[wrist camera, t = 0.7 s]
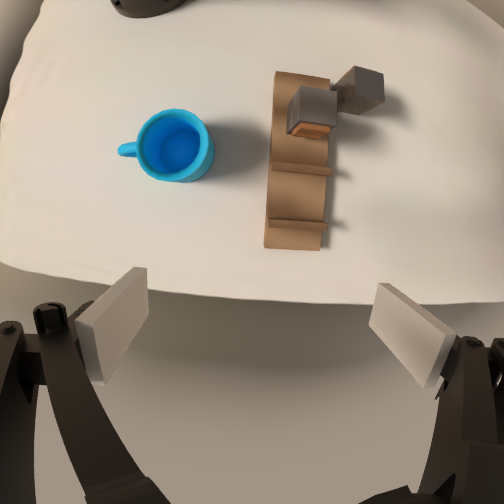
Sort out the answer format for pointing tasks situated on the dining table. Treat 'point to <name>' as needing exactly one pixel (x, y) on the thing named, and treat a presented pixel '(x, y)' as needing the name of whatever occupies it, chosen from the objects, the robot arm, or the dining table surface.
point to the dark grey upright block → (359, 90)
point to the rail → (298, 161)
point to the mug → (172, 147)
